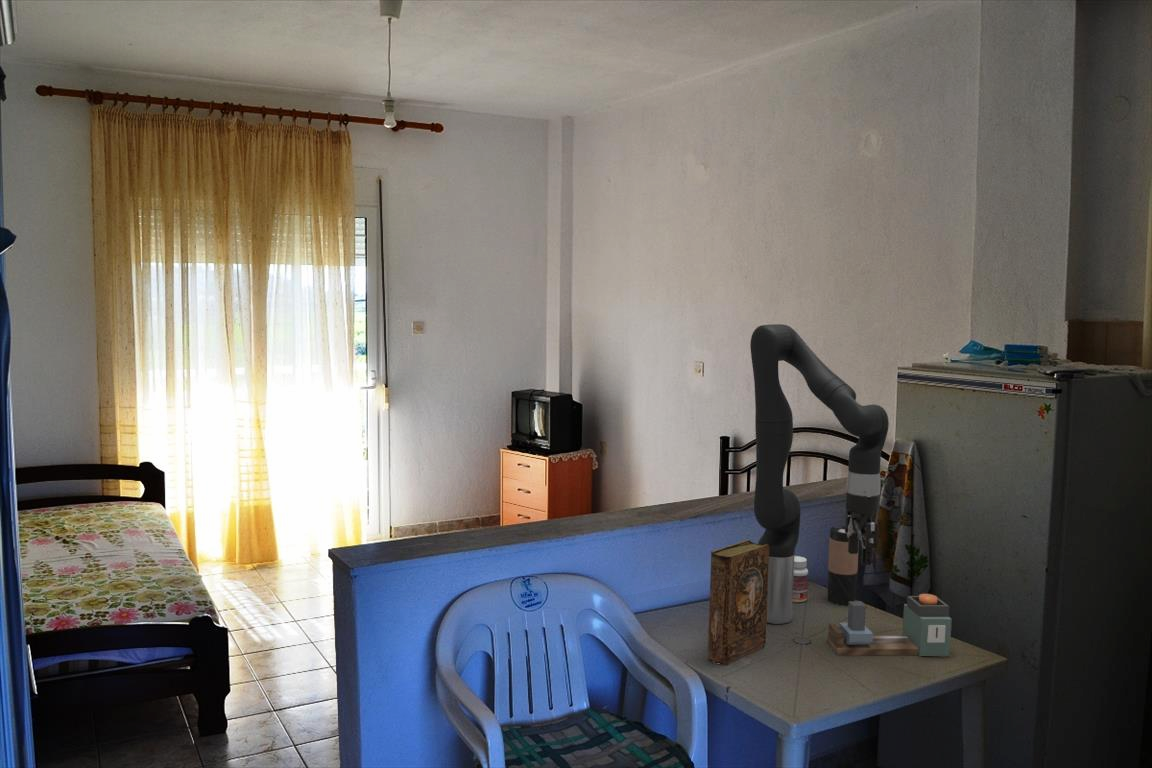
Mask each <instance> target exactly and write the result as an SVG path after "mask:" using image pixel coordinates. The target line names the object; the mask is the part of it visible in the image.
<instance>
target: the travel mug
mask: <svg viewBox="0 0 1152 768" xmlns="http://www.w3.org/2000/svg"><path fill="white" fill-rule="evenodd" d="M857 538H858V537H857ZM848 540H849V537H848V536H847V533H845V525H843V526H840V527H835V526H831V527H830V530H829V548H828V564H827V565H828V566H827V569H828V570H827V601H828V602H829V601H830V602H832V603H834V604H833V605H835V604H838V605H837V606H841V605H849V601H856V594H857V593H856V592H857V583H858V582H857V581H858V569H859V567H858V565H859V552H858V553H857V554H850V553H849V552H848ZM859 542H860V541H859ZM859 542H858V548H859V547H860V546H859V544H860V543H859ZM830 602H829V603H830ZM832 603H831V604H832Z"/></svg>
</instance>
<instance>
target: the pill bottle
mask: <svg viewBox="0 0 1152 768" xmlns="http://www.w3.org/2000/svg"><path fill="white" fill-rule="evenodd" d="M807 562H808V561H807V558H806V557H804V556H799V555H795V558H794V580H793V603H803V602H807V600H808V594H809V593H808V590H809V589H808V587H809V586H808V585H809V570H808V568H807V566H808V565H807Z"/></svg>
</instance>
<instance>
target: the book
mask: <svg viewBox="0 0 1152 768" xmlns="http://www.w3.org/2000/svg"><path fill="white" fill-rule="evenodd" d="M768 572H769V545H767V544H766V545H760V544H758V543H754V542H753V541H751V540H750V539H746V540H743V541H740V542H736V543H734V544H731V545H726V546H725V547H720V548H718V549H715V550H712V551H711V553H710V577H709V581H710V582H709V583H710V585H709V606H708V607H709V610H708V613H709V614H708V635H707V636H708V638H707V639H708V642H707V659H708V658H709V659H710V660H711V661H714V662H715V663H714V664H716V663H720V664H728V665H730V664H732V663H735V662H736V661H739V660H741V659H743V658H745V657H747V656H749V655H752V654H753V653H756V652H758V651H760V650H762V649H764V647H765V645H766V643H767V642H766V640H767V624H768V623H767V598H768ZM711 661H710V662H711Z"/></svg>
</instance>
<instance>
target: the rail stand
mask: <svg viewBox="0 0 1152 768" xmlns="http://www.w3.org/2000/svg"><path fill="white" fill-rule="evenodd" d="M827 633H828V634H827V636H826V643H827V644H828V646H829V647H830V648H831V649H832V650H833V652H834V653H835V654H836V655H837V656H838V657H839V656H840V657H841V655H844V656H845V657H846V656H849V657H850V656H919V655H918V648H917V647H916V646H915V645H914V644H913V643H912V642H911V641H909V640H908V637H907V636H902V635H873V642H870V644H866V645H847V644H846V638H845V637H844V633H843V632H842V631H841V630H840V628H839V626H838V625H837V624H836V623H828V632H827Z"/></svg>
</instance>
